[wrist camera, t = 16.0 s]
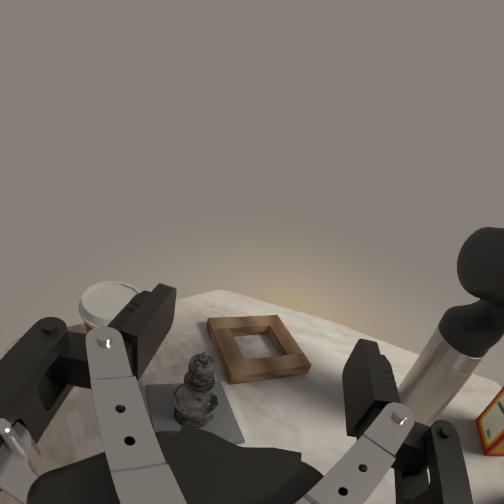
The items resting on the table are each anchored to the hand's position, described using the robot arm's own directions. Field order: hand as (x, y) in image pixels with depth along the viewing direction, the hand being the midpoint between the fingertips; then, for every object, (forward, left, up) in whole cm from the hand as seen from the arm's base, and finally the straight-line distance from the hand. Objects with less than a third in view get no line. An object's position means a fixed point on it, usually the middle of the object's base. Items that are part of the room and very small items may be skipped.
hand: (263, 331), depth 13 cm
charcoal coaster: (-3, -14, -28) cm, 32 cm away
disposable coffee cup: (+7, -25, -28) cm, 38 cm away
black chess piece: (-3, -14, -28) cm, 31 cm away
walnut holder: (-17, -26, -28) cm, 42 cm away
